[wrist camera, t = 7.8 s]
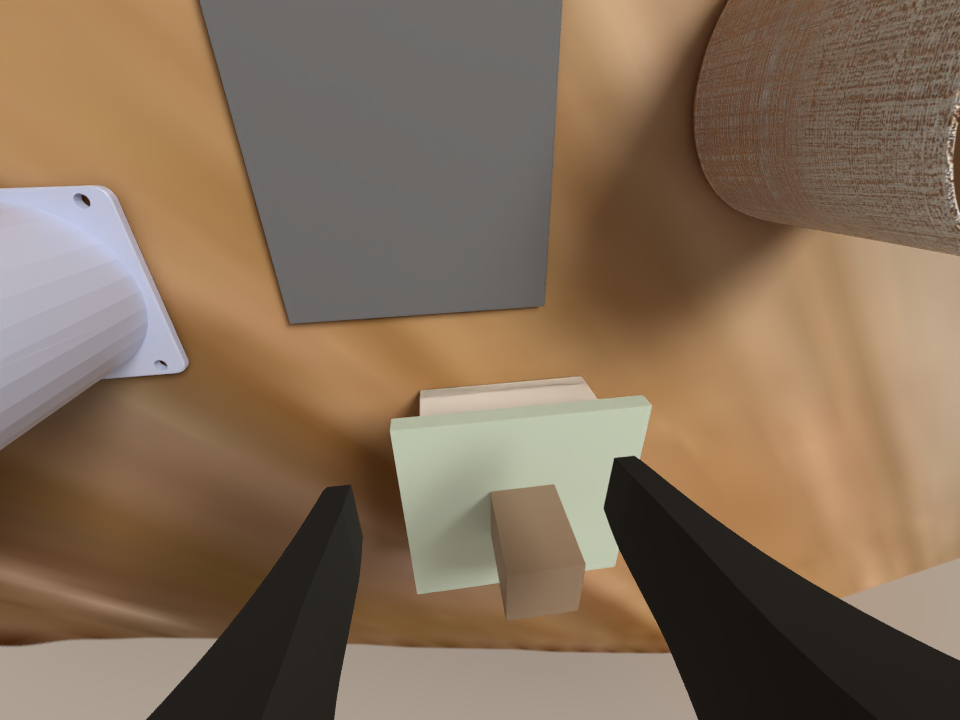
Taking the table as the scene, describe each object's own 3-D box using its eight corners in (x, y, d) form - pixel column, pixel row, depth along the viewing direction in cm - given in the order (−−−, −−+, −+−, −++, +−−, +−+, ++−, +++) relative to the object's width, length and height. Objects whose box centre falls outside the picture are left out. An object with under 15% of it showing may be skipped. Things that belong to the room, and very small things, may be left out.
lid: (417, 579, 21) (416, 685, 17) (391, 419, 16) (379, 513, 12) (608, 553, 22) (651, 645, 18) (642, 395, 17) (713, 473, 13)
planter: (914, 163, 18) (1320, 173, 10) (695, 253, 19) (906, 332, 11) (972, -168, 13) (1918, -717, 5) (668, -28, 14) (1035, -295, 6)
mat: (292, 320, 18) (289, 323, 18) (197, -27, 12) (190, -33, 12) (542, 303, 19) (544, 306, 19) (560, -21, 14) (563, -25, 13)
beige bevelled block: (433, 506, 25) (435, 572, 21) (420, 390, 21) (419, 446, 17) (567, 490, 26) (593, 551, 22) (581, 376, 22) (616, 425, 18)
